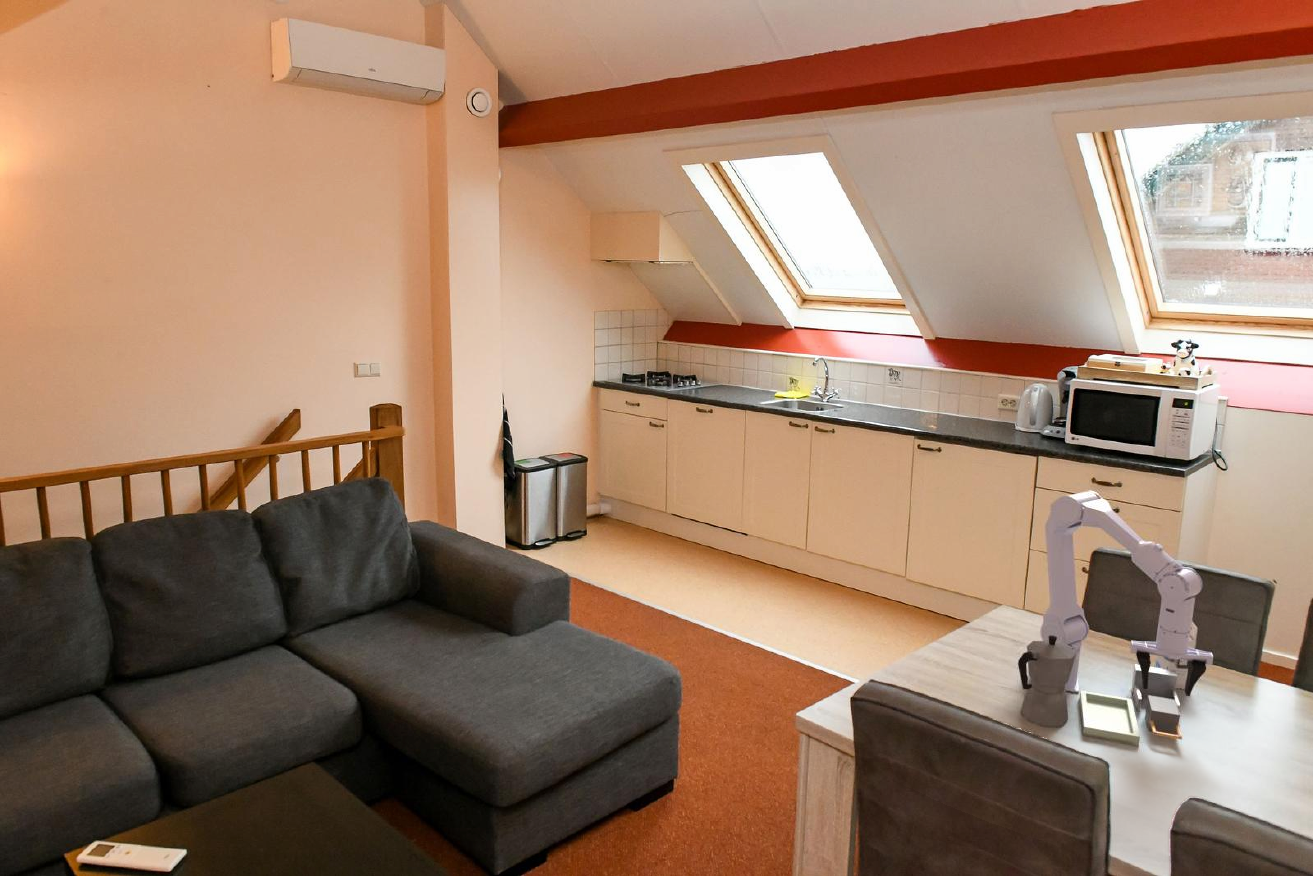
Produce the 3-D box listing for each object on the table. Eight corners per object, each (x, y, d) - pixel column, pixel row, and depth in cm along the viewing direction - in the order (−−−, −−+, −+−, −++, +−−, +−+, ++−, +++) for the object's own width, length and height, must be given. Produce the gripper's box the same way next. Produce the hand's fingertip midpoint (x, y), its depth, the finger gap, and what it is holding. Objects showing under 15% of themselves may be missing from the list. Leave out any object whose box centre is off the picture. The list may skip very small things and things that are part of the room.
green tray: (1083, 735, 187) (1084, 726, 187) (1079, 698, 202) (1080, 690, 202) (1138, 746, 183) (1140, 736, 183) (1130, 707, 199) (1131, 699, 198)
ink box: (1153, 671, 217) (1162, 611, 214) (1176, 673, 216) (1185, 613, 213) (1165, 687, 209) (1174, 625, 206) (1189, 690, 208) (1198, 628, 205)
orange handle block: (1151, 744, 184) (1154, 721, 183) (1145, 717, 195) (1147, 695, 194) (1180, 750, 183) (1183, 726, 182) (1171, 722, 193) (1175, 699, 192)
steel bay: (1136, 711, 197) (1139, 685, 196) (1131, 689, 207) (1134, 664, 206) (1179, 719, 194) (1182, 692, 193) (1171, 696, 204) (1175, 670, 203)
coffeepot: (1048, 700, 201) (1057, 622, 198) (1085, 720, 193) (1094, 639, 189) (995, 715, 195) (1003, 634, 191) (1031, 736, 186) (1040, 652, 183)
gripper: (1136, 629, 186) (1128, 692, 188) (1219, 641, 181) (1209, 706, 183) (1132, 616, 192) (1124, 677, 195) (1212, 628, 187) (1203, 690, 190)
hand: (1165, 690), depth 190 cm, fingers open, 7 cm apart
